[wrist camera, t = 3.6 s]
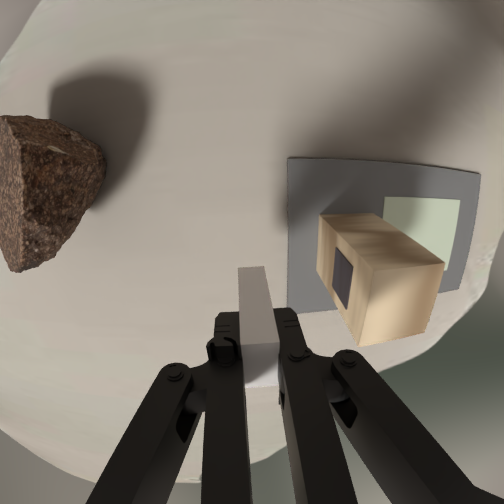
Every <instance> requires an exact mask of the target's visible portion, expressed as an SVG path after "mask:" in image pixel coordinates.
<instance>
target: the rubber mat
mask: <svg viewBox="0 0 504 504" xmlns="http://www.w3.org/2000/svg"><path fill="white" fill-rule="evenodd" d="M287 173H288V276H287V307H290V308H292V309H293V310H294V311H295V312H296V314H300V313H310V312H319V311H328V310H336V309H338V308H337V306H336V305H335V303H334V301H333V299H332V297H331V296H330V294H329V292H328V290H327V288H326V287H325V285H324V283H323V281H322V279H321V278H320V276H319V274H318V272H317V271H316V265H317V248H318V226H319V215H320V214H358V213H374V214H375V215H377V216H378V217H380V218H381V219H383V220H385V221H386V222H388V223H389V224H391V225H392V226H394V227H395V228H397V229H398V230H400V231H401V232H403V233H404V234H406V235H407V236H409V237H410V238H412V239H413V240H415V241H416V242H418V243H419V244H420V245H422V246H423V247H425V248H426V249H427V250H429V251H430V252H432V253H433V254H434V255H436V256H437V257H438V258H440V259H441V260H442V261H444V262H445V268H444V271H443V275H442V279H441V283H440V286H439V290H438V293H442V292H447V291H452V290H457V289H459V286H460V283H461V280H462V276H463V273H464V269H465V265H466V262H467V258H468V253H469V249H470V245H471V240H472V235H473V230H474V225H475V219H476V213H477V206H478V199H479V191H480V181H481V175H480V174H476V173H471V172H465V171H459V170H453V169H446V168H439V167H432V166H424V165H415V164H405V163H395V162H383V161H368V160H349V159H308V158H297V159H287Z"/></svg>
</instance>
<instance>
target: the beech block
mask: <svg viewBox="0 0 504 504" xmlns="http://www.w3.org/2000/svg"><path fill="white" fill-rule="evenodd" d="M444 268H445V262H444V261H442V260H441V259H440V258H438V257H437V256H436V255H434V254H433V253H432V252H430V251H429V250H427V249H426V248H425V247H423V246H422V245H420V244H419V243H418V242H416V241H415V240H413V239H412V238H410V237H409V236H407V235H406V234H404V233H403V232H401V231H400V230H398V229H397V228H395V227H394V226H392V225H391V224H389V223H388V222H386V221H385V220H383V219H381V218H380V217H378V216H377V215H375V214H374V213H358V214H320V215H319V226H318V248H317V265H316V271H317V272H318V274H319V276H320V278H321V279H322V281H323V283H324V285H325V287H326V288H327V290H328V292H329V294H330V296H331V297H332V299H333V301H334V303H335V305H336V306H337V308H338V310H339V312H340V314H341V316H342V317H343V319H344V321H345V323H346V325H347V327H348V329H349V331H350V332H351V334H352V336H353V338H354V340H355V342H356V344H357V346H358V347H362V346H367V345H372V344H377V343H382V342H387V341H391V340H396V339H400V338H404V337H408V336H412V335H416V334H420V333H424V332H425V329H426V326H427V324H428V321H429V318H430V315H431V312H432V309H433V306H434V303H435V300H436V296H437V293H438V290H439V286H440V283H441V279H442V275H443V271H444Z"/></svg>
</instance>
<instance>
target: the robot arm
mask: <svg viewBox="0 0 504 504" xmlns="http://www.w3.org/2000/svg"><path fill="white" fill-rule="evenodd" d="M238 284H239V312H220V313H219V314H218V316H217V317H216V318H215V327H214V338H212V339H211V340H210V341H209V342H208V343H207V346H206V348H207V353H208V359H209V360H208V361H207V362H206V363H204V364H203V365H200V366H197V367H193V368H189V367H188V366H187V365H185V364H182V363H171V364H168V365H166V366H164V367H163V368H162V369H161V370H160V372H159V374H158V375H157V377H156V379H155V380H154V382H153V384H152V386H151V387H150V389H149V391H148V393H147V394H146V396H145V398H144V399H143V401H142V403H141V405H140V406H139V408H138V410H137V412H136V413H135V415H134V417H133V419H132V420H131V422H130V424H129V426H128V428H127V429H126V431H125V433H124V435H123V436H122V438H121V440H120V442H119V443H118V445H117V447H116V449H115V451H114V452H113V454H112V456H111V458H110V460H109V461H108V463H107V465H106V467H105V469H104V471H103V472H102V474H101V476H100V478H99V480H98V482H97V483H96V485H95V487H94V489H93V491H92V493H91V495H90V496H89V498H88V500H87V502H86V504H166V503H167V501H168V498H169V495H170V493H171V491H172V488H173V486H174V483H175V481H176V478H177V476H178V473H179V471H180V468H181V466H182V463H183V461H184V458H185V455H186V453H187V450H188V448H189V445H190V443H191V440H192V438H193V435H194V433H195V430H196V427H197V425H198V422H199V420H200V417H201V415H202V412H204V411H205V424H204V441H203V462H202V487H201V488H202V489H201V504H253V499H252V486H251V472H250V457H249V442H248V426H247V410H246V395H245V388H254V387H267V386H278V382H279V404H281V410H282V416H283V423H284V429H285V435H286V442H287V448H288V454H289V460H290V467H291V473H292V480H293V486H294V493H295V499H296V504H358V502H357V498H356V495H355V491H354V487H353V484H352V480H351V477H350V473H349V469H348V466H347V462H346V459H345V456H344V452H343V449H342V445H341V442H340V438H339V435H338V432H337V428H336V425H335V421H334V418H335V420H336V421H337V423H338V424H339V426H340V427H341V429H342V430H343V432H344V433H345V435H346V436H347V438H348V439H349V441H350V442H351V444H352V445H353V447H354V449H355V450H356V451H357V453H358V454H359V456H360V458H361V459H362V461H363V462H364V464H365V465H366V466H367V468H368V469H369V471H370V472H371V474H372V475H373V477H374V478H375V480H376V481H377V483H378V484H379V486H380V487H381V489H382V490H383V491H384V493H385V494H386V496H387V497H388V499H389V500H390V502H391V503H392V504H504V499H502V498H500V497H498V496H495V495H493V494H491V493H489V492H486V491H484V490H481V489H479V488H478V487H475V486H474V485H473V484H472V483H471V481H470V480H469V479H468V478H467V477H466V475H465V474H464V473H463V472H462V471H461V469H460V468H459V467H458V466H457V465H456V464H455V463H454V461H453V460H452V459H451V458H450V456H449V455H448V454H447V453H446V452H445V451H444V449H443V448H442V447H441V446H440V445H439V443H437V441H436V440H435V439H434V438H433V437H432V435H431V434H430V433H429V432H428V431H427V430H426V428H425V427H424V426H423V425H422V424H421V422H420V421H419V420H418V419H417V418H416V417H415V415H414V414H413V413H412V412H411V411H410V410H409V409H408V407H407V406H406V405H405V404H404V403H403V402H402V401H401V399H400V398H399V397H398V396H397V395H396V394H395V393H394V391H393V390H392V389H391V388H390V387H389V386H388V385H387V383H386V382H385V381H384V380H383V379H382V378H381V377H380V375H379V374H378V373H377V372H376V371H375V370H374V369H373V367H372V366H371V365H370V364H369V363H368V362H367V361H366V360H365V358H364V357H363V356H362V355H361V354H359V353H358V352H356V351H354V350H347V349H346V350H340V351H339V352H337V353H336V354H335V355H334V356H333V357H325V356H319V355H316V354H314V353H313V352H312V351H311V349H309V348H308V347H307V345H306V342H305V339H304V336H303V333H302V329H301V326H300V323H299V321H298V317H297V314H296V312H295V311H294V310H293V309H292V308H290V307H287V308H274V309H273V307H272V302H271V298H270V293H269V288H268V283H267V279H266V274H265V269H264V266H260V267H243V268H238ZM333 416H334V418H333Z"/></svg>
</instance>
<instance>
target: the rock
mask: <svg viewBox="0 0 504 504" xmlns="http://www.w3.org/2000/svg"><path fill="white" fill-rule="evenodd" d="M106 164H107V163H106V160H105V159H104V158H103V156H102V151H101V148H100V146H98V145H96V144H94V143H93V142H91V141H89V140H87V139H85V138H84V137H82V136H81V134H80V133H79V132H77V131H74V130H72V129H70V128H67V127H65V126H64V125H62V124H60V123H58V122H56V121H52V120H51V119H36V118H34V117H32V116H28V115H26V116H10V115H3V116H0V248H1V250H2V253H3V255H4V258H5V261H6V262H7V264H8V267H9V269H10V271H12V272H13V271H14V272H15V273H17V272H18V273H21V272H22V271H24V270H28V269H31V268H35V267H39V265H40V264H42V263H43V262H44V261H48V260H49V259H51V258H55V256H56V253H57V252H58V251H59V250H60V248H61V246H62V245H63V244H64V243H65V242H66V241H67V240H68V239H69V238H70V237H71V235H72V233H74V231H75V229H76V227H77V226H78V224H79V222H80V221H81V218H82V216H83V215H84V213H85V211H86V210H87V209H88V208H90V206H91V205H92V202H93V201H94V199H95V197H96V194H97V191H98V190H99V188H100V186H101V183H102V181H103V179H104V178H105V174H106Z"/></svg>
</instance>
